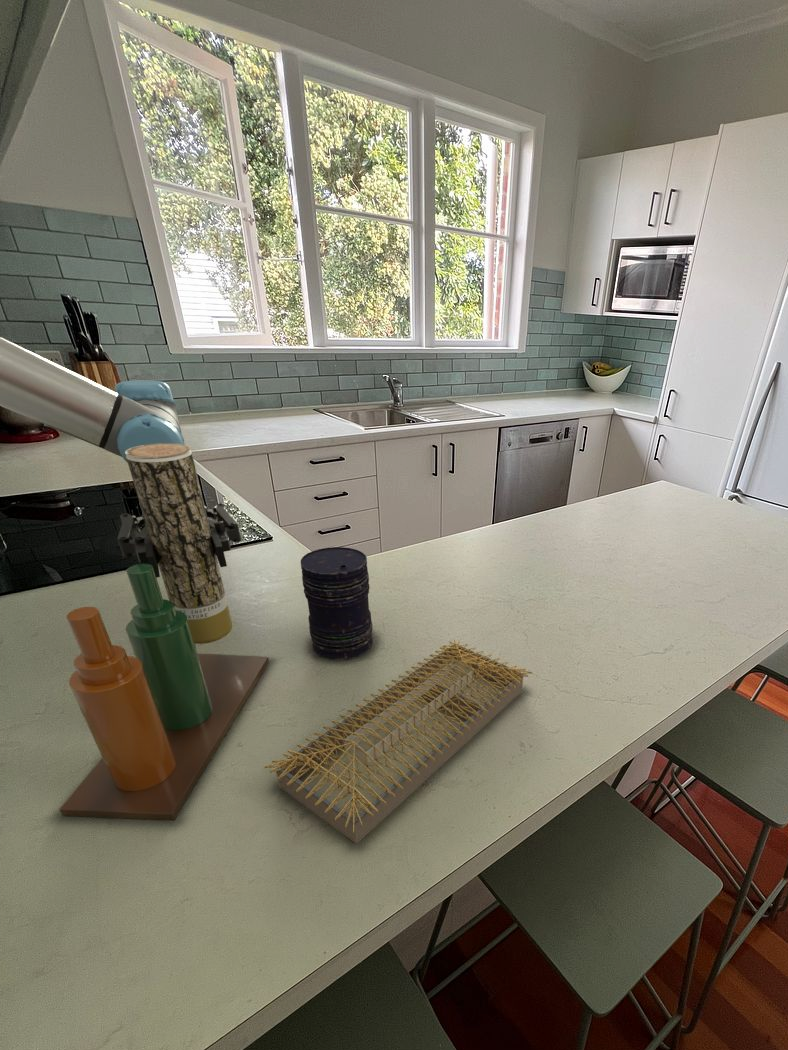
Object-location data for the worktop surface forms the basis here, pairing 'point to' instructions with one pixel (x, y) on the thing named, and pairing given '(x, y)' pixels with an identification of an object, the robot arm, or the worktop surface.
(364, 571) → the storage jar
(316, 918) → the worktop surface
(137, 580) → the green bottle
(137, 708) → the amber bottle
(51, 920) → the worktop surface
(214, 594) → the bark cylinder
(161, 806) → the walnut board
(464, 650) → the rafter model
